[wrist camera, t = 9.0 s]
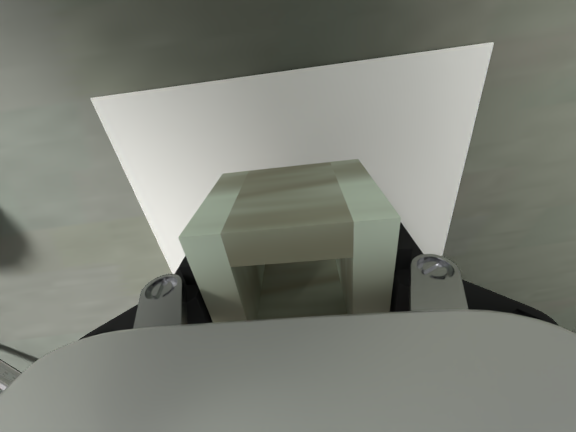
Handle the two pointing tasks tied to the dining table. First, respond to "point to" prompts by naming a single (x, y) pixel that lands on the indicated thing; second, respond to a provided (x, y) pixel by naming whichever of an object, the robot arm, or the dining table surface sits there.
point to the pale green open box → (294, 243)
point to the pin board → (306, 134)
